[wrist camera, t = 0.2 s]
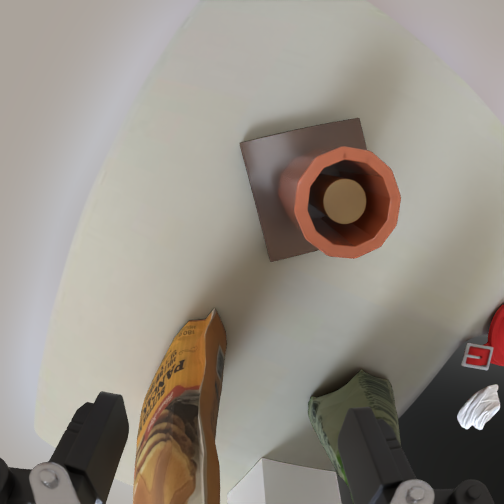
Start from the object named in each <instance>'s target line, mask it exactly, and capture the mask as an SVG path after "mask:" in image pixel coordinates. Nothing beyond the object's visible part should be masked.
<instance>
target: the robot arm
mask: <svg viewBox="0 0 504 504" xmlns="http://www.w3.org/2000/svg"><path fill="white" fill-rule="evenodd" d="M128 433H129V423H128V419H127V415H126V410H125V406H124V401H123V397H122V396H121V395H118V394H113V393H108V392H103V391H102V392H100V393H99V395H98V397H97V398H96V400H95V402H94V403H89V402H86V403H85V404H84V405H83V406H81V407H80V408H79V409H78V410H77V411H76V413H75V414H74V416H73V418H72V420H71V422H70V423H69V425H68V427H67V430H66V431H65V433H64V434H63V436H62V438H61V440H60V442H59V444H58V446H57V447H56V450H55V451H54V453H53V455H52V457H51V459H50V460H49V461H48V462H44V463H40V464H38V465H37V466H35V467H34V468H33V469H32V470H30V469H19V468H10V467H8V466H7V464H6V463H5V462H4V460H2V459H1V458H0V504H106V501H107V497H108V494H109V491H110V488H111V485H112V482H113V479H114V476H115V473H116V470H117V467H118V464H119V461H120V458H121V456H122V453H123V450H124V447H125V444H126V441H127V438H128ZM338 450H339V454H340V457H341V461H342V464H343V468H344V471H345V474H346V478H347V481H348V485H349V488H350V492H351V495H352V499H353V503H354V504H494V502H493V499H492V497H491V496H490V493H489V491H488V490H487V488H486V486H485V485H484V484H483V483H481V482H480V481H478V480H473V479H469V480H465V481H463V482H462V483H460V484H459V485H458V486H457V488H456V489H432V487H431V486H430V485H429V484H427V483H426V482H424V481H422V480H417V479H416V477H415V475H414V473H413V470H412V468H411V466H410V464H409V462H408V460H407V458H406V456H405V453H404V451H403V449H402V448H401V445H400V443H399V441H398V440H397V437H396V435H395V433H394V431H393V428H392V427H391V426H390V425H389V424H388V423H387V422H386V421H385V420H383V419H376V417H375V415H374V413H373V411H372V409H371V408H370V407H358V408H349V409H348V411H347V414H346V416H345V419H344V422H343V425H342V427H341V430H340V433H339V436H338Z"/></svg>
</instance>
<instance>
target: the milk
mask: <svg viewBox="0 0 504 504" xmlns="http://www.w3.org/2000/svg"><path fill="white" fill-rule="evenodd" d="M227 499H228V504H341V498H340V492H339V486H338V481H337V475H336V472H334V471H327V470H321V469H315V468H309V467H303V466H298V465H293V464H288V463H283V462H278V461H274V460H270V459H265V458H261V459H260V460H259V461H258V462H257V463H256V465H255V466H254V467H253V468H252V469H251V470H250V471H249V472H248V473H247V474H246V475H245V476H244V477H243V478H242V480H241V481H240V482H239V483H238V484H237V485H236V486H235V487H234V488H233V489H232V490H231V491H230V492H229V493H228V494H227Z"/></svg>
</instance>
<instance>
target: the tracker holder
mask: <svg viewBox="0 0 504 504" xmlns="http://www.w3.org/2000/svg"><path fill="white" fill-rule="evenodd" d="M466 363H468V364H466ZM490 363H493V364H496V365H500V366H504V304H503V305H502V306H500V308H499V309H498V310H497V312H496V313H495V315H494V317H493V319H492V322H491V324H490V328H489V333H488V342H487V343H486V344H484V345H478V344H472V343H467V344H466V348H465V351H464V355H463V360H462V364H461V365H462V366H465V367H471V368H477V369H483V370H488V368H489V364H490ZM471 364H472V365H471ZM476 365H486V367H482V366H476Z"/></svg>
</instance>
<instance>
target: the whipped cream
mask: <svg viewBox="0 0 504 504" xmlns="http://www.w3.org/2000/svg"><path fill="white" fill-rule="evenodd" d="M497 390H498V385H497V384H495V385H491V386H487V387H485V388H483V389H481V390H479V391H478V392H476V393H475V394H474V395H472V396H471V397H470V398H469V399H468V400H467V401H466V402H465V404H464V405H463V406H462V408H461V409H460V411H459V413H458V416H457V418H458V421H459V422H460V425H461V426H462V427H463V428H465V429H468V428H469V427H470V426H471V425H473V426H474V425H475V428H477V429H479V430H480V429H483V426H484V424H485V422H487V421H489V420H490V419H491V417H492V416H493V415H494V414H496V413H497V411H498V410H499V408H500V403H499V399H498V396H497V395H498V393H497Z"/></svg>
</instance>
